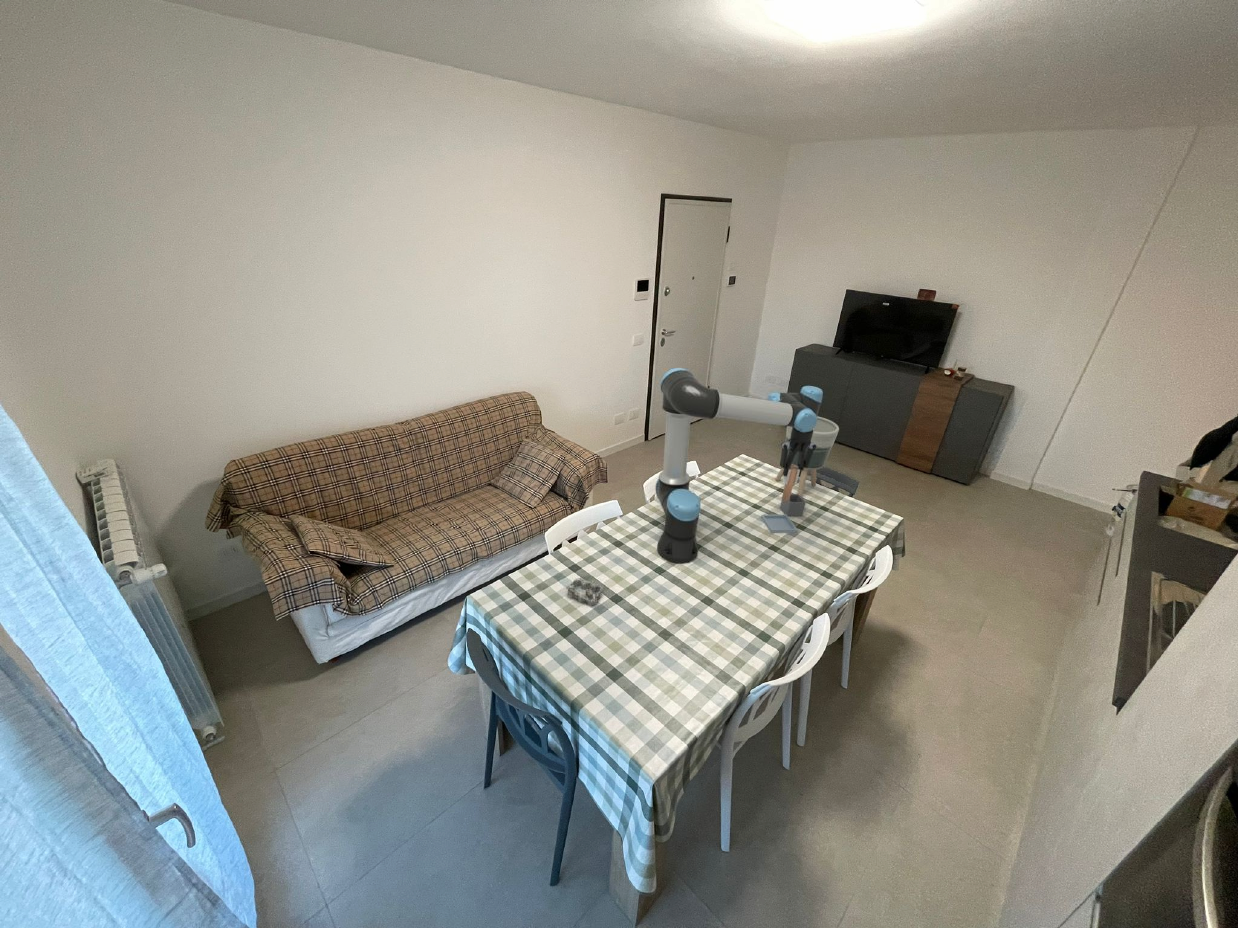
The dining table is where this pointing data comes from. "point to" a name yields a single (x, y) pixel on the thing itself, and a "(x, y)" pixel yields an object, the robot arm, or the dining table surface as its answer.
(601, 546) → the dining table surface
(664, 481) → the robot arm
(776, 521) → the tray
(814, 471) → the planter
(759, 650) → the dining table surface
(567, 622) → the dining table surface
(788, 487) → the dowel
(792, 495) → the pen pot
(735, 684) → the dining table surface
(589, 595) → the egg carton
